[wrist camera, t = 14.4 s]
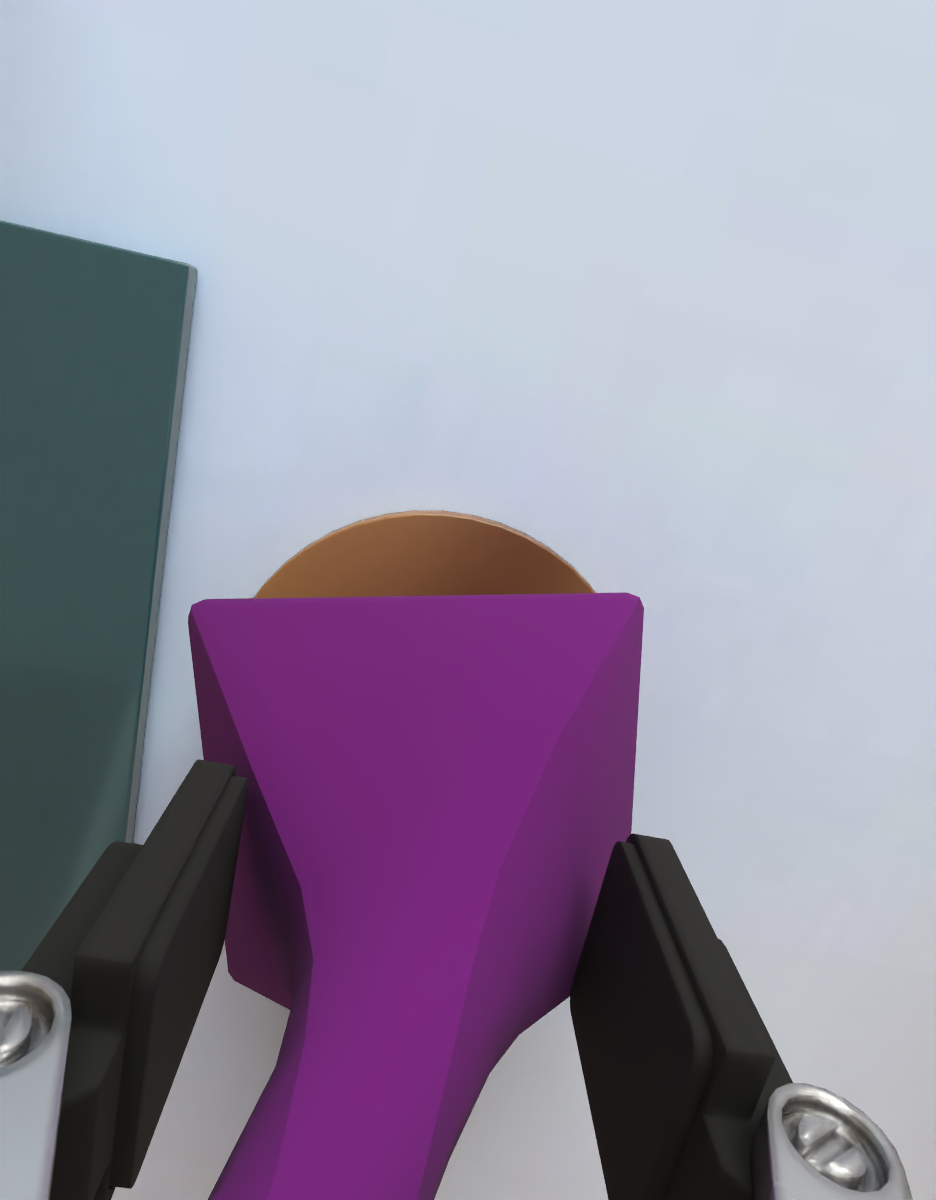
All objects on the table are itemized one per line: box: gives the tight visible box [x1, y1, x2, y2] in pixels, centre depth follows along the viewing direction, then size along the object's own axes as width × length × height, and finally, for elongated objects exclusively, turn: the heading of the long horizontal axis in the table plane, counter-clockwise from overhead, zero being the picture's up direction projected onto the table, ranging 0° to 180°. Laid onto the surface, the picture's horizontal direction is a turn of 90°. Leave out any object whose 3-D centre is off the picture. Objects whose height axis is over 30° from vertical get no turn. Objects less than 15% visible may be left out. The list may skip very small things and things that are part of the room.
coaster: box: [254, 511, 595, 598], centre depth 17 cm, size 9×9×1 cm
